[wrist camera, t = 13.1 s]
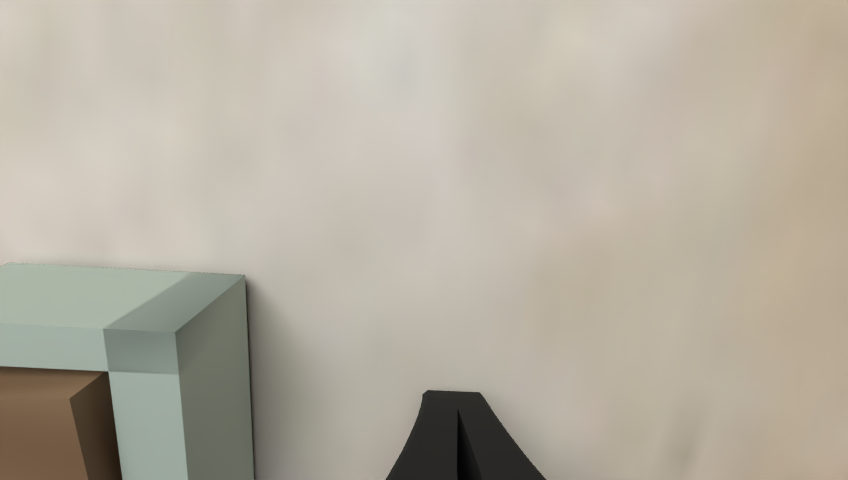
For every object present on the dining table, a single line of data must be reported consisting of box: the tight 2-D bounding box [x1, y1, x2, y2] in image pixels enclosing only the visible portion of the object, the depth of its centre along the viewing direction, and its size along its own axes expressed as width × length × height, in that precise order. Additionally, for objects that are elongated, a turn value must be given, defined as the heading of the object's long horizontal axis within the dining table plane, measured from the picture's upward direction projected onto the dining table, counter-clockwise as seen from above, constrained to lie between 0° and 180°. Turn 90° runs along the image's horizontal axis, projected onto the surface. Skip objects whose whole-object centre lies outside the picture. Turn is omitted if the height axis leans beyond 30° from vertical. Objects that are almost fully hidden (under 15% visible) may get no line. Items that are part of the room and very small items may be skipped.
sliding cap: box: [0, 263, 254, 480], centre depth 10 cm, size 7×5×3 cm
